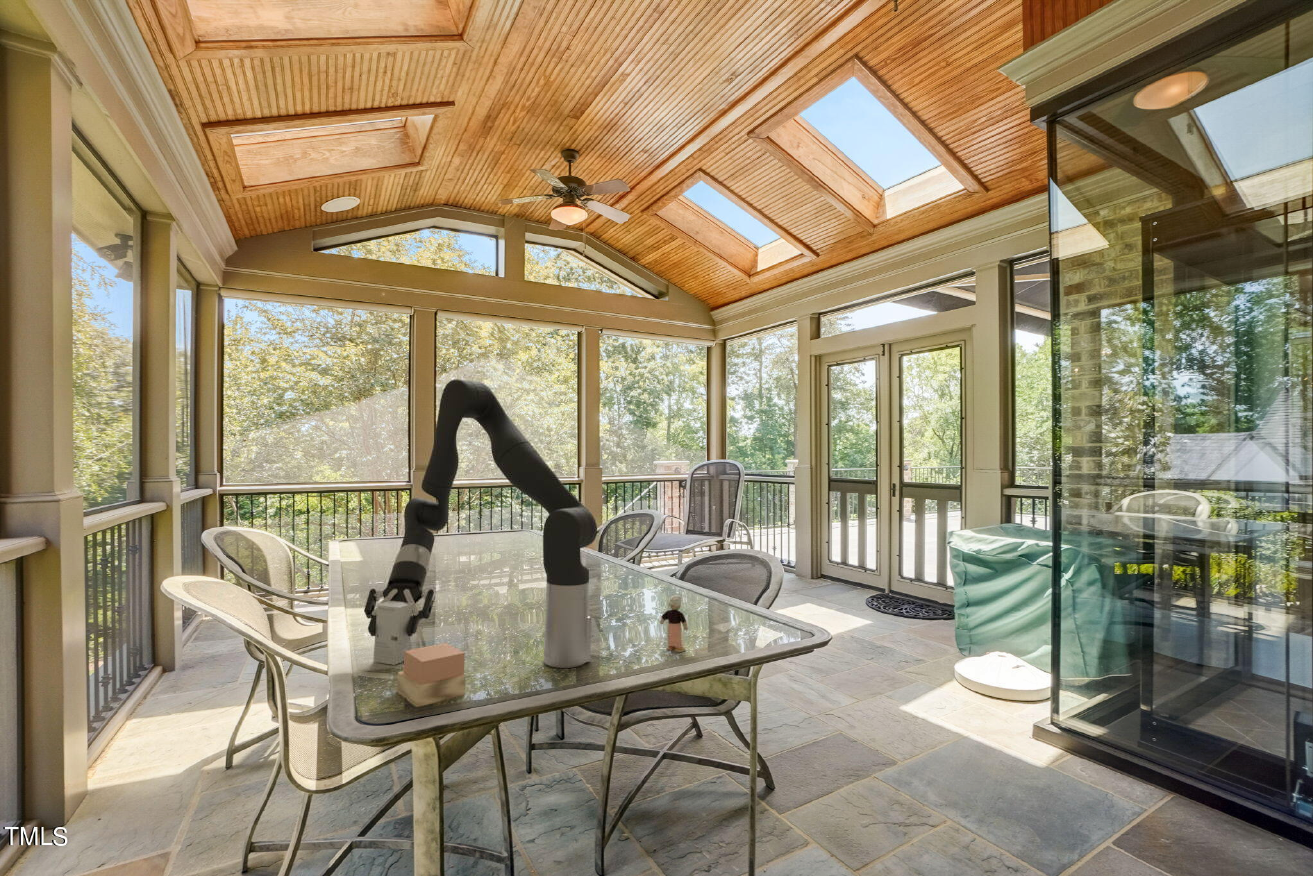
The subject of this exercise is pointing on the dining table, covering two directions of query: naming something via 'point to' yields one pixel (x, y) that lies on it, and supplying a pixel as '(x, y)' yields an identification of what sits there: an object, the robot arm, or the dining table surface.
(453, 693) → the tower base
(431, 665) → the tower top
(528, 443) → the robot arm
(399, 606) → the skincare box
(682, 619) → the grandmother figurine
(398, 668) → the dining table surface
